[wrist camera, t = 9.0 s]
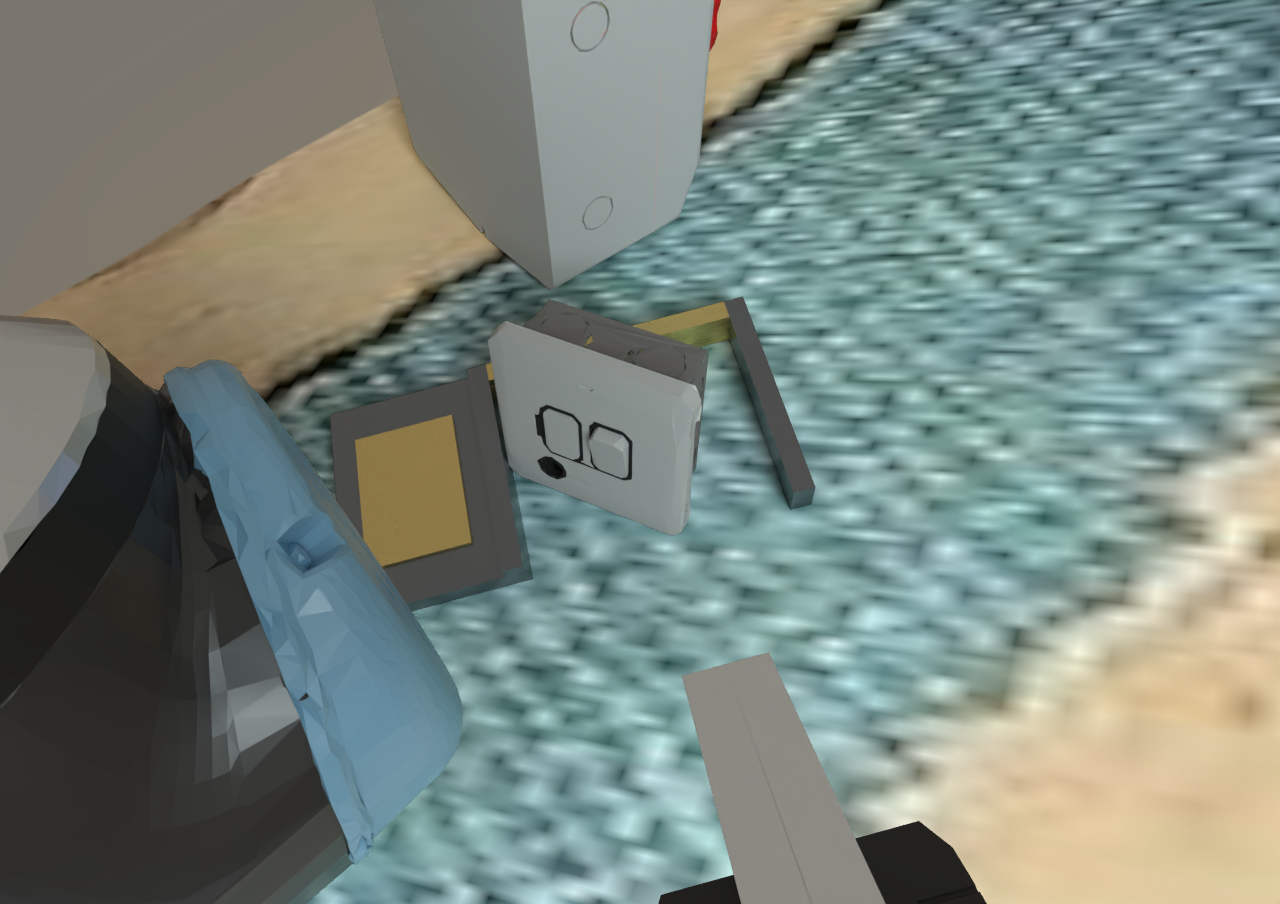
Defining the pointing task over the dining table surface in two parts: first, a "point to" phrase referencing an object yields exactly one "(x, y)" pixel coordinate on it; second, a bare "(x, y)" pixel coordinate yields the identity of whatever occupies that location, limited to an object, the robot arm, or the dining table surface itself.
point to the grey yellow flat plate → (497, 468)
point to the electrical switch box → (555, 116)
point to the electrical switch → (601, 411)
